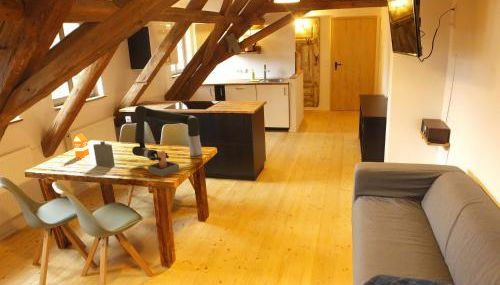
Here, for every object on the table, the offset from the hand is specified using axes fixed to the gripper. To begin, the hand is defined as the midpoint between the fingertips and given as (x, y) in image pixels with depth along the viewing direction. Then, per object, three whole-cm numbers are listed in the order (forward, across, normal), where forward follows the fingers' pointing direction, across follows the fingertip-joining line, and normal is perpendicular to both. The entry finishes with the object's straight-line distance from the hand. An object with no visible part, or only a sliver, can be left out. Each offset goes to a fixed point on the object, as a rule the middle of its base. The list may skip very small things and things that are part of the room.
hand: (164, 158), depth 271 cm
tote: (-2, 0, +11) cm, 11 cm away
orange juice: (-95, -18, +11) cm, 98 cm away
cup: (-2, 0, +10) cm, 11 cm away
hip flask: (-53, -19, +11) cm, 58 cm away
